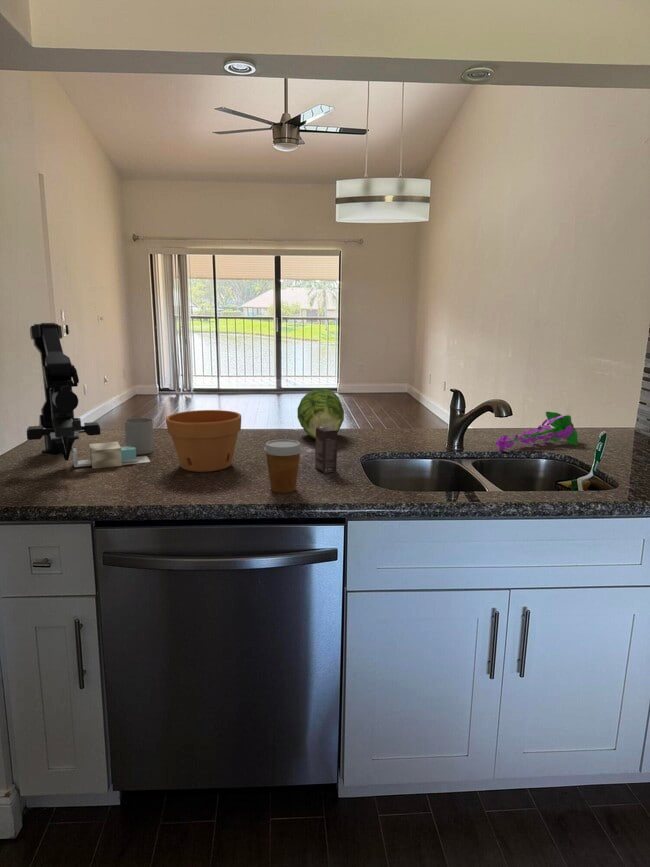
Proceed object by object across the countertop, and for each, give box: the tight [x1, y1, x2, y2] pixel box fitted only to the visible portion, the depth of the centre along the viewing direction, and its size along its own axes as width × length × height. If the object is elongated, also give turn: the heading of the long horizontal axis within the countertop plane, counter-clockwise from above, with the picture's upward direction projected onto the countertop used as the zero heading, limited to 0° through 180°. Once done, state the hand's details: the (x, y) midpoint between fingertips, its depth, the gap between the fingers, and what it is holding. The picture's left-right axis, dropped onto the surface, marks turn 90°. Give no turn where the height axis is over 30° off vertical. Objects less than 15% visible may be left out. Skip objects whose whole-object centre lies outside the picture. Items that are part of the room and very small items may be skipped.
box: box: [314, 427, 338, 474], centre depth 165 cm, size 6×4×12 cm
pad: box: [122, 455, 151, 466], centre depth 174 cm, size 8×7×1 cm
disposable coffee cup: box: [263, 439, 303, 494], centre depth 147 cm, size 10×10×12 cm
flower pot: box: [165, 409, 242, 473], centre depth 168 cm, size 21×21×15 cm
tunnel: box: [88, 441, 123, 469], centre depth 170 cm, size 8×9×5 cm
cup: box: [124, 417, 155, 455], centre depth 184 cm, size 8×8×10 cm
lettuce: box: [297, 388, 345, 440], centre depth 204 cm, size 17×23×16 cm
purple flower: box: [495, 411, 579, 451], centre depth 198 cm, size 12×16×35 cm
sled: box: [71, 445, 138, 468], centre depth 170 cm, size 18×5×4 cm, turn 115°
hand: (66, 460), depth 166 cm, fingers closed
